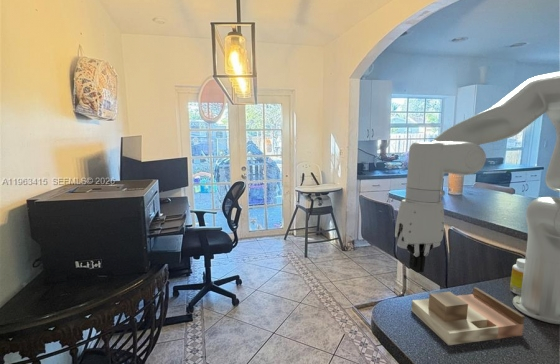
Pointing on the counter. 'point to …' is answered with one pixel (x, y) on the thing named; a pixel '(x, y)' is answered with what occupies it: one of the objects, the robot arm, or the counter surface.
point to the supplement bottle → (517, 276)
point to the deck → (473, 320)
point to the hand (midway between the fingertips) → (416, 269)
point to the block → (448, 306)
